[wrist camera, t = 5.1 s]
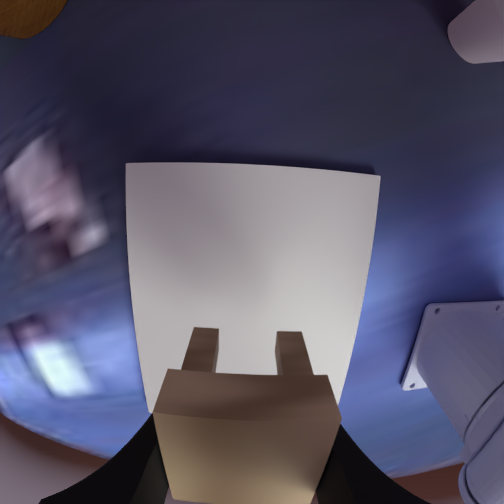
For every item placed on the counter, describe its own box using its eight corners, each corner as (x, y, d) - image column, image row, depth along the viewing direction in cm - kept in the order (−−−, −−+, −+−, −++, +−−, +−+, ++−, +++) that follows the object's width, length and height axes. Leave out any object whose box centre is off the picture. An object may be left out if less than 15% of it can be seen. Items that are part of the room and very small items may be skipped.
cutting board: (375, 175, 19) (380, 175, 18) (331, 413, 24) (333, 420, 23) (130, 162, 18) (125, 163, 17) (151, 406, 24) (149, 412, 23)
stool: (310, 324, 14) (341, 418, 8) (295, 412, 15) (310, 503, 10) (185, 319, 14) (152, 412, 8) (191, 408, 15) (173, 499, 10)
